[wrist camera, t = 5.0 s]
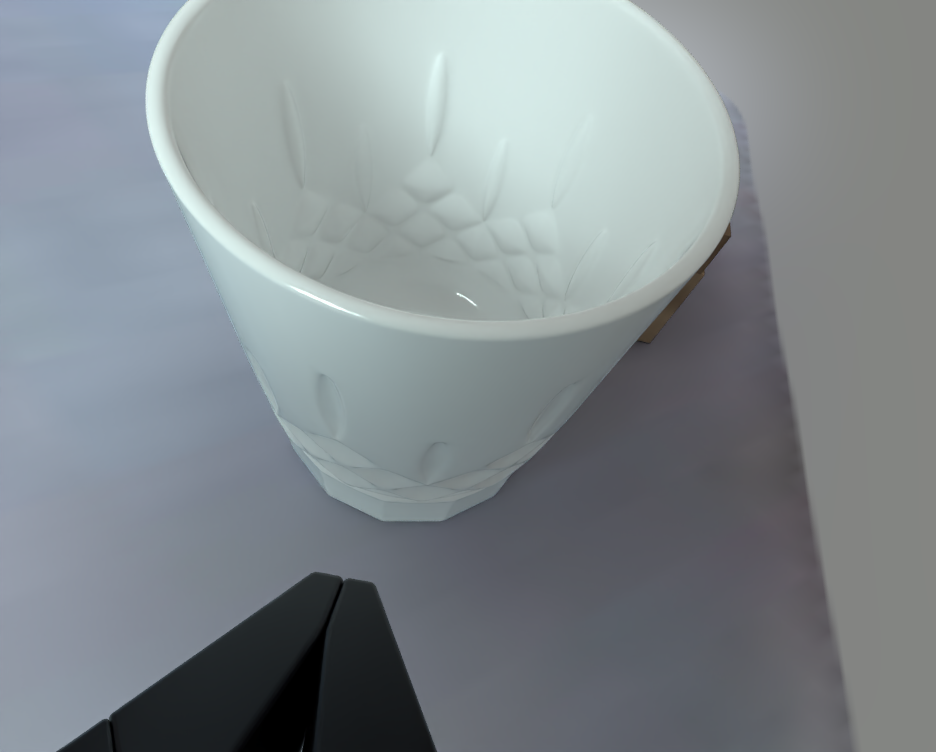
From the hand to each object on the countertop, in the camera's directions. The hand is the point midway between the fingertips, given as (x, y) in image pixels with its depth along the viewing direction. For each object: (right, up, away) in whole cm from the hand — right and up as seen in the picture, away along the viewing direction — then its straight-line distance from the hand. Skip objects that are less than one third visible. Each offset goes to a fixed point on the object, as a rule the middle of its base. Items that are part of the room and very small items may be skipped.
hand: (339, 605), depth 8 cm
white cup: (0, +2, +9) cm, 9 cm away
